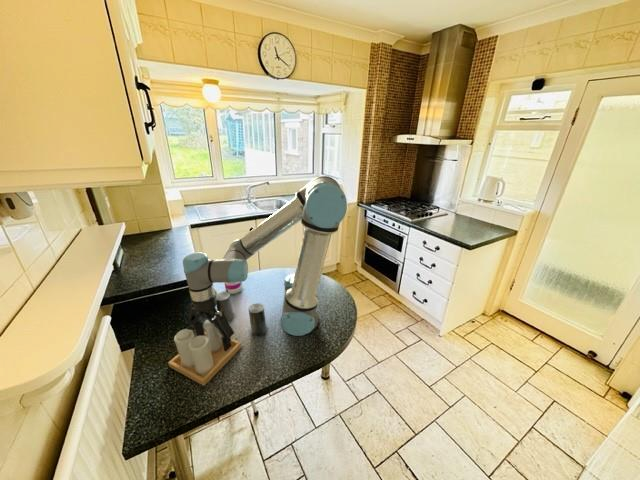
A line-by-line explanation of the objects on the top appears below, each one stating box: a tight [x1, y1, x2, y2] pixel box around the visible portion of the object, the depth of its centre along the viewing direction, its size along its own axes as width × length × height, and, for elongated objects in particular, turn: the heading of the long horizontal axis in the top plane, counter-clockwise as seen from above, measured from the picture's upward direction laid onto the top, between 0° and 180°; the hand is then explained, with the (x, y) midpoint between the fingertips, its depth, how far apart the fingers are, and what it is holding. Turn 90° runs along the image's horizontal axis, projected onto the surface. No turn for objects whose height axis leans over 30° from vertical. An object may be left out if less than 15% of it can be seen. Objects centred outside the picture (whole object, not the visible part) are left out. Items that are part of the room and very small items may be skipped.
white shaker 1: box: [173, 328, 196, 368], centre depth 90 cm, size 6×6×13 cm
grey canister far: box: [215, 291, 234, 323], centre depth 111 cm, size 6×6×12 cm
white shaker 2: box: [189, 335, 214, 376], centre depth 87 cm, size 6×6×13 cm
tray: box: [167, 330, 242, 387], centre depth 94 cm, size 17×18×3 cm
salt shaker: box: [202, 318, 222, 353], centre depth 95 cm, size 6×6×13 cm
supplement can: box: [224, 282, 243, 295], centre depth 130 cm, size 8×8×15 cm
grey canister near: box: [248, 302, 267, 337], centre depth 104 cm, size 6×6×12 cm
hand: (214, 342), depth 96 cm, fingers open, 13 cm apart
